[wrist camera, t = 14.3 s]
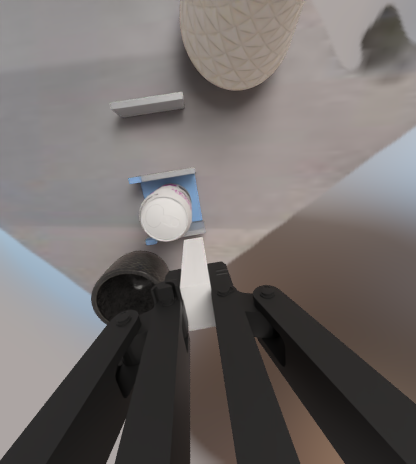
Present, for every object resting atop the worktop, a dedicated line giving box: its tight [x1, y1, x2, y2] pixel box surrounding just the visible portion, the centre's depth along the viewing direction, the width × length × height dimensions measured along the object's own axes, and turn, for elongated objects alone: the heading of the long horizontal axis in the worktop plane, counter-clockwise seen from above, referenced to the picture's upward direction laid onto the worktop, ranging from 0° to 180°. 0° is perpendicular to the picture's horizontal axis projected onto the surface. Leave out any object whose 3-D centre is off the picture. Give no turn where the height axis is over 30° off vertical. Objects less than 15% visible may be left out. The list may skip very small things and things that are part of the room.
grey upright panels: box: [109, 92, 206, 245], centre depth 39 cm, size 25×12×7 cm, turn 9°
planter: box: [91, 251, 169, 325], centre depth 43 cm, size 14×14×13 cm
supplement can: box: [139, 183, 192, 242], centre depth 37 cm, size 8×8×15 cm
